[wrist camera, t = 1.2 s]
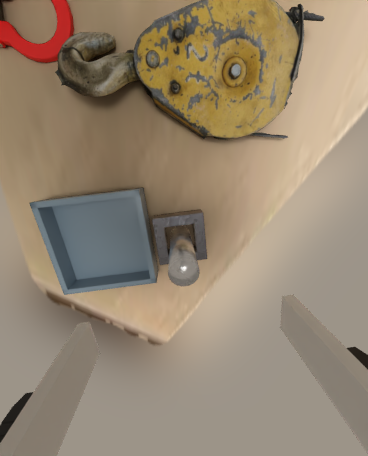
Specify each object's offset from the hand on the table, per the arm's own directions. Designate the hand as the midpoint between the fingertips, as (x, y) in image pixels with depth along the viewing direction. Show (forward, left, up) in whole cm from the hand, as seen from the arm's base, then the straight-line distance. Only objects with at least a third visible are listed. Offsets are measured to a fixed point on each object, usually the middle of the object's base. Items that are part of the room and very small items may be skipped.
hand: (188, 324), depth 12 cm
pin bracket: (0, 0, -18) cm, 18 cm away
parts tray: (-1, -12, -18) cm, 22 cm away
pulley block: (-22, +3, -19) cm, 29 cm away
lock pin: (0, 0, -18) cm, 18 cm away
